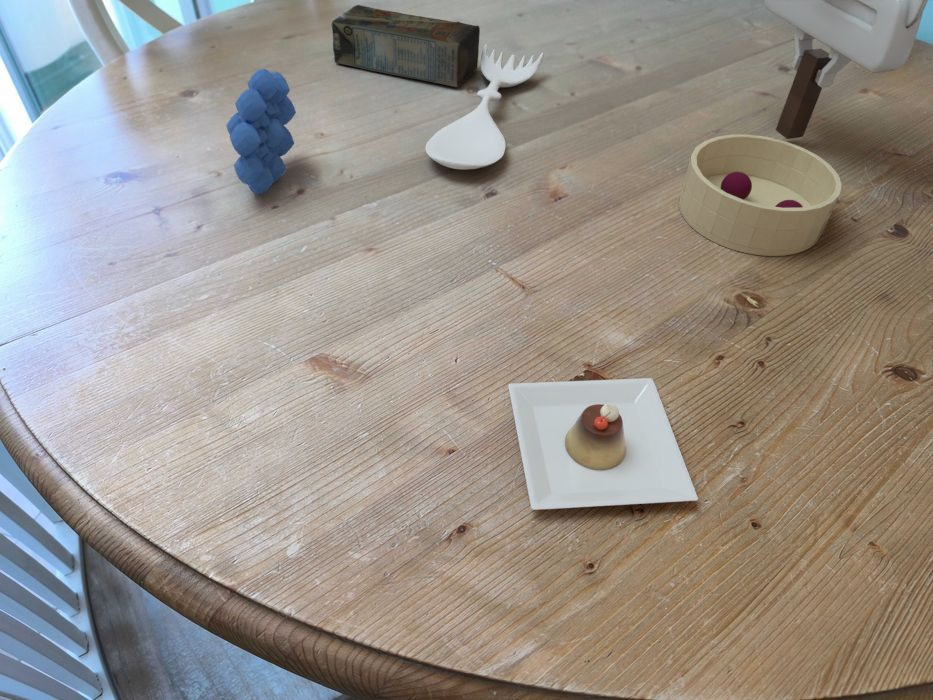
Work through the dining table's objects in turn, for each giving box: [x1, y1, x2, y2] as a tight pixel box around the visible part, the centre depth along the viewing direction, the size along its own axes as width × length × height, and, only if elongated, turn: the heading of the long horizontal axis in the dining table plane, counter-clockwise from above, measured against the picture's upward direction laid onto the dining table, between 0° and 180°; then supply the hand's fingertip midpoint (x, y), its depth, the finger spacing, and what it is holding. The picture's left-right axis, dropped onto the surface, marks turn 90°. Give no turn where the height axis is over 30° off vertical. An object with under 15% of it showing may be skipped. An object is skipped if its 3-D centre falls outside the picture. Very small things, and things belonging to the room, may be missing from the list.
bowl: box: [678, 133, 843, 257], centre depth 80 cm, size 15×15×6 cm
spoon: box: [424, 43, 545, 170], centre depth 94 cm, size 9×32×4 cm, turn 165°
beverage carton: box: [330, 4, 481, 88], centre depth 103 cm, size 8×19×7 cm, turn 69°
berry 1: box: [721, 172, 752, 200], centre depth 81 cm, size 3×3×3 cm
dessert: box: [507, 377, 699, 511], centre depth 56 cm, size 12×12×5 cm
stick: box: [775, 48, 832, 140], centre depth 89 cm, size 2×2×10 cm
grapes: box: [226, 67, 297, 195], centre depth 78 cm, size 12×7×12 cm, turn 166°
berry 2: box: [775, 200, 803, 208], centre depth 78 cm, size 3×3×3 cm
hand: (810, 77), depth 88 cm, fingers closed on stick, 2 cm apart
